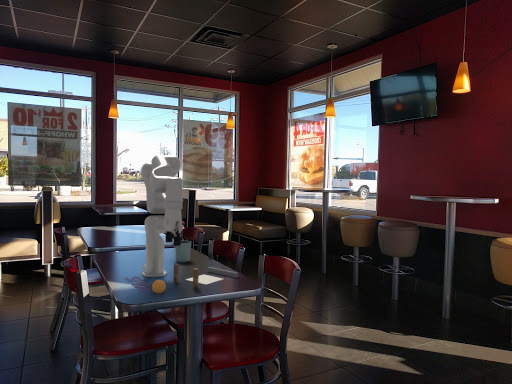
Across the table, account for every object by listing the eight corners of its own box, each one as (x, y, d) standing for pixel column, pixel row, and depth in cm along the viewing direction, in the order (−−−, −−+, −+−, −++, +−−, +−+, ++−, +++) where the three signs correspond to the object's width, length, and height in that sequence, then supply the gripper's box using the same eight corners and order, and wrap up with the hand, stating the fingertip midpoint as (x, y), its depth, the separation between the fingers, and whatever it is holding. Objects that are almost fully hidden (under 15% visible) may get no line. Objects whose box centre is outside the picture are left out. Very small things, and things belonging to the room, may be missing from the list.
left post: (172, 282, 191) (172, 264, 191) (176, 281, 193) (176, 264, 193) (176, 283, 190) (176, 265, 190) (179, 282, 192) (180, 264, 192)
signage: (123, 277, 197) (142, 275, 203) (123, 278, 197) (142, 276, 203) (140, 291, 174) (161, 288, 180) (140, 293, 174) (161, 290, 180)
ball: (148, 293, 173) (149, 280, 173) (159, 290, 178) (159, 277, 178) (158, 296, 170) (158, 282, 170) (168, 292, 175) (168, 279, 174)
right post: (191, 287, 184) (192, 269, 184) (195, 286, 186) (195, 268, 186) (195, 288, 182) (196, 269, 182) (199, 287, 185) (199, 268, 184)
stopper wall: (207, 271, 216) (207, 267, 216) (209, 271, 218) (209, 266, 217) (235, 277, 205) (235, 273, 205) (237, 277, 206) (237, 272, 206)
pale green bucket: (192, 259, 248) (193, 240, 247) (188, 262, 238) (188, 243, 237) (177, 258, 249) (177, 240, 248) (172, 261, 239) (172, 242, 238)
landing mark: (185, 279, 198) (185, 279, 198) (203, 274, 209) (203, 274, 209) (206, 284, 190) (206, 284, 190) (223, 279, 201) (224, 278, 201)
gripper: (158, 204, 175) (158, 241, 176) (172, 206, 161) (171, 247, 161) (174, 204, 179) (173, 240, 180) (189, 206, 165) (188, 246, 165)
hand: (172, 244), depth 170 cm, fingers open, 9 cm apart
